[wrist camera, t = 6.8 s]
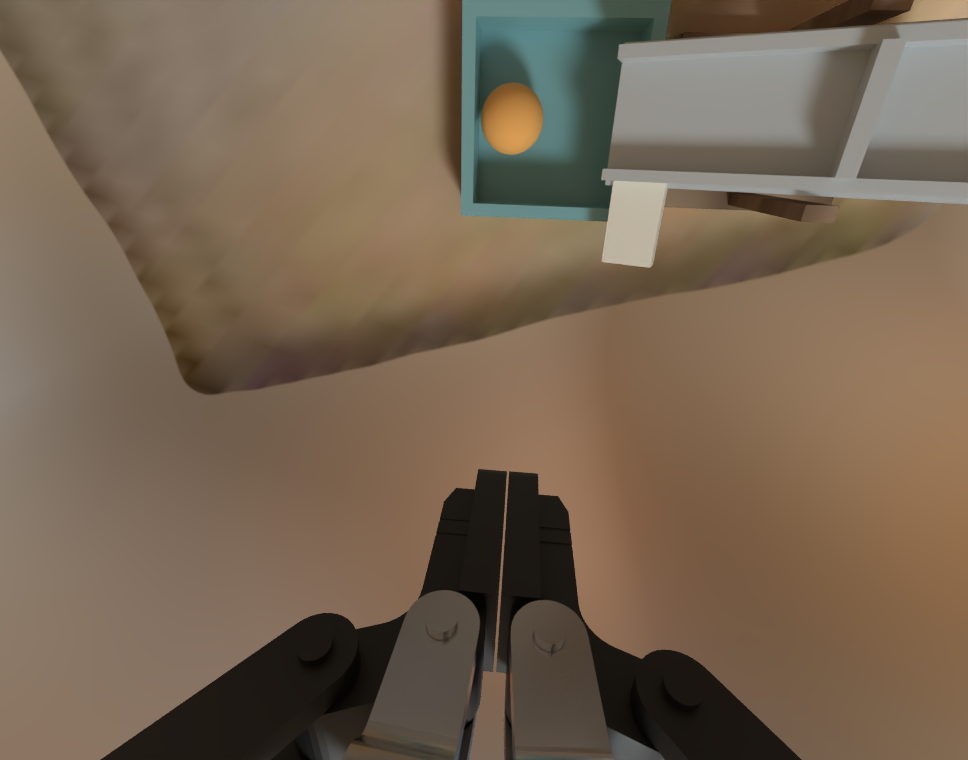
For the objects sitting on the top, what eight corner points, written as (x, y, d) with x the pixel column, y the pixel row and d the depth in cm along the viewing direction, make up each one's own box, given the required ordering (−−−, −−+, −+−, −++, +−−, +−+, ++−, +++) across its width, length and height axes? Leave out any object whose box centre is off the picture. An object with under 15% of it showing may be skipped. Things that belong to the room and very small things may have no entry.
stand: (878, 39, 27) (1058, -23, 18) (819, 211, 32) (938, 233, 23) (678, 36, 28) (751, -25, 19) (648, 205, 33) (695, 223, 23)
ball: (540, 88, 30) (480, 86, 29) (551, 79, 26) (483, 76, 26) (535, 155, 31) (479, 153, 31) (545, 155, 28) (481, 153, 28)
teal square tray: (470, 18, 29) (462, -2, 25) (653, 20, 28) (672, -1, 24) (468, 209, 34) (461, 215, 30) (622, 215, 33) (634, 222, 30)
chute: (979, 53, 24) (1107, -6, 16) (886, 270, 29) (945, 311, 21) (647, 68, 30) (616, 33, 22) (619, 243, 35) (586, 265, 27)
